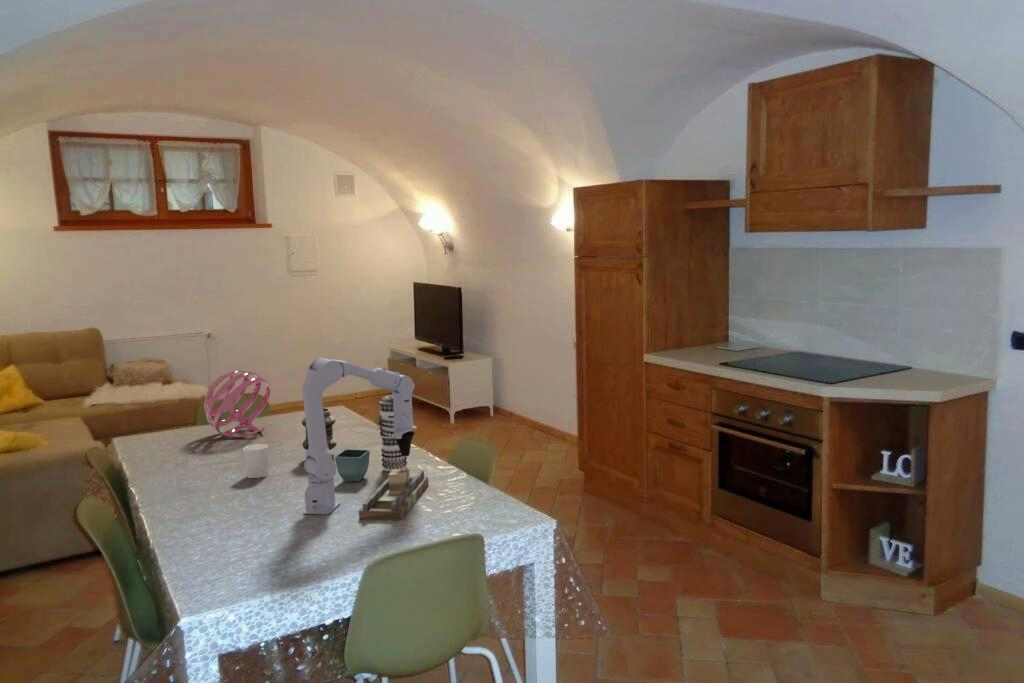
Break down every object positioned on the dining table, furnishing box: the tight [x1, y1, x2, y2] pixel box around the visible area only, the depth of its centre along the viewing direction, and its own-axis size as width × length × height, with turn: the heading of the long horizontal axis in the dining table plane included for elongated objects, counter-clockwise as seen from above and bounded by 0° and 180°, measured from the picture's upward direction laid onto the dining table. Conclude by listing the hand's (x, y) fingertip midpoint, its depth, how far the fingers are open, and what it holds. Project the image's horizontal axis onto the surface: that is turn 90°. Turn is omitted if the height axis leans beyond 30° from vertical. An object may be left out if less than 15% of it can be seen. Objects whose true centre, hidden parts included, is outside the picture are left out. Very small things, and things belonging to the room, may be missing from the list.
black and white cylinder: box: [378, 394, 408, 473], centre depth 263 cm, size 9×9×25 cm
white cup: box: [242, 443, 269, 479], centre depth 261 cm, size 8×8×10 cm
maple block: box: [388, 469, 411, 491], centre depth 235 cm, size 5×5×5 cm
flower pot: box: [334, 448, 371, 483], centre depth 253 cm, size 9×9×9 cm
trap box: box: [358, 470, 429, 521], centre depth 231 cm, size 32×12×4 cm, turn 172°
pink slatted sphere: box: [203, 369, 272, 439], centre depth 318 cm, size 28×28×27 cm
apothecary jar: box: [301, 407, 338, 460], centre depth 279 cm, size 12×12×18 cm
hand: (405, 455), depth 242 cm, fingers closed
